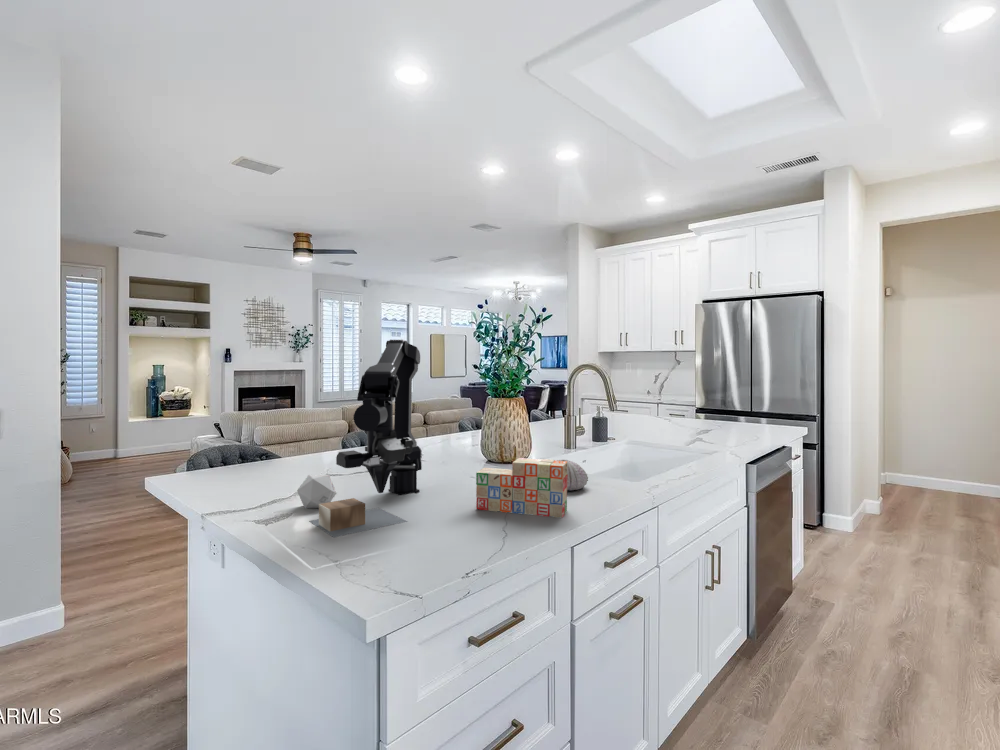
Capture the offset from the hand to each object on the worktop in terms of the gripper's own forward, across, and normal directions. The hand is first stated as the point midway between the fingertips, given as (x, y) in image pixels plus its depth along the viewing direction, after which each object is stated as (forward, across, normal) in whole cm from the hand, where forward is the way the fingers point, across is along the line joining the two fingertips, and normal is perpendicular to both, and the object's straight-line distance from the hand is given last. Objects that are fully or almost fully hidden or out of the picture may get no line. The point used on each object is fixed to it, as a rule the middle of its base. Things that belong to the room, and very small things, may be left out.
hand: (380, 492), depth 122 cm
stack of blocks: (+6, +30, -15) cm, 34 cm away
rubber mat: (+6, -6, 0) cm, 8 cm away
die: (+6, -8, +18) cm, 20 cm away
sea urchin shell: (+6, +54, -6) cm, 55 cm away
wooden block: (+3, -5, 0) cm, 6 cm away
